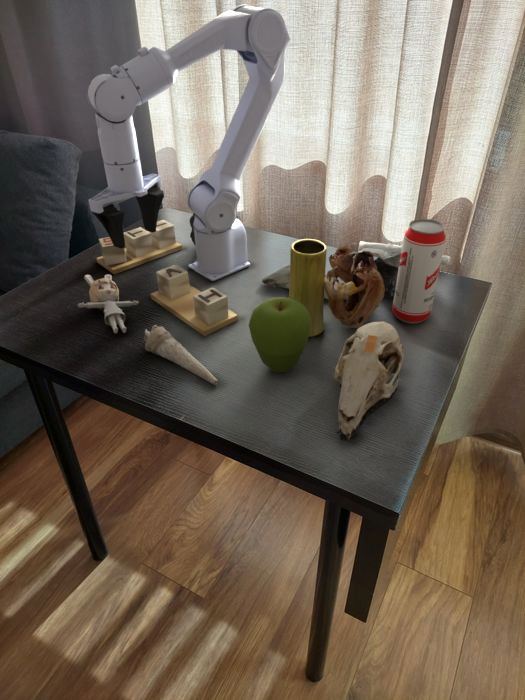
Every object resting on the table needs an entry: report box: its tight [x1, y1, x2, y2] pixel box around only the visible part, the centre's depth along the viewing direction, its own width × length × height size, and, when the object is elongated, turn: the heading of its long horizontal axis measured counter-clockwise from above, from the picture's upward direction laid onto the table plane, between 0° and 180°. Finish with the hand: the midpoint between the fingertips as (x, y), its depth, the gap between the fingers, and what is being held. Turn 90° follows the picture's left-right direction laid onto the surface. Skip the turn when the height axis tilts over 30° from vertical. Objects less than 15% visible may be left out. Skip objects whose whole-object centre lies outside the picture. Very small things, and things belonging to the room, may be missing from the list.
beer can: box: [391, 218, 447, 325], centre depth 83 cm, size 6×6×16 cm
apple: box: [248, 296, 311, 374], centre depth 74 cm, size 9×8×12 cm
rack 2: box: [150, 264, 239, 337], centre depth 89 cm, size 16×7×5 cm, turn 42°
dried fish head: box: [325, 242, 385, 329], centre depth 86 cm, size 21×9×10 cm, turn 169°
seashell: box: [143, 324, 219, 386], centre depth 78 cm, size 4×7×15 cm
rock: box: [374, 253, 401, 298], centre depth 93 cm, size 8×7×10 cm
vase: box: [288, 238, 327, 338], centre depth 81 cm, size 6×6×14 cm
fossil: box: [261, 264, 348, 300], centre depth 95 cm, size 11×5×15 cm
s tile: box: [98, 236, 127, 266], centre depth 102 cm, size 4×4×4 cm
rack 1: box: [96, 219, 183, 275], centre depth 106 cm, size 16×7×5 cm, turn 132°
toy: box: [77, 274, 139, 334], centre depth 89 cm, size 10×5×15 cm
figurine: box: [357, 239, 454, 268], centre depth 101 cm, size 7×4×18 cm
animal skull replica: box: [333, 320, 404, 441], centre depth 68 cm, size 8×17×10 cm, turn 154°
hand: (135, 238), depth 92 cm, fingers open, 7 cm apart
